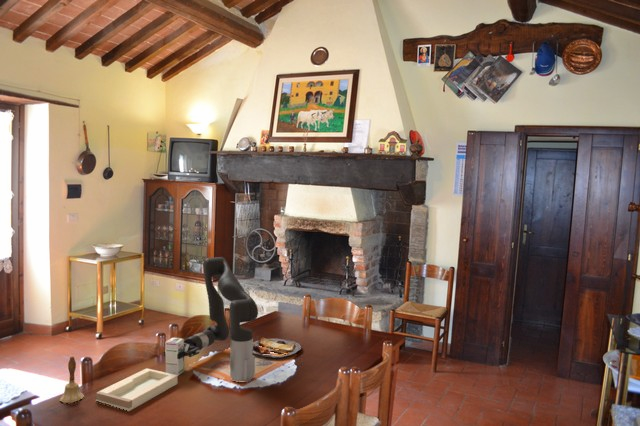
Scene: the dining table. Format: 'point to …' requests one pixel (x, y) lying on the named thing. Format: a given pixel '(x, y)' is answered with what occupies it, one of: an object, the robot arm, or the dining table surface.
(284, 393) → the dining table surface
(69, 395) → the hand bell
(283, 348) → the food plate
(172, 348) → the syrup box
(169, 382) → the tray
